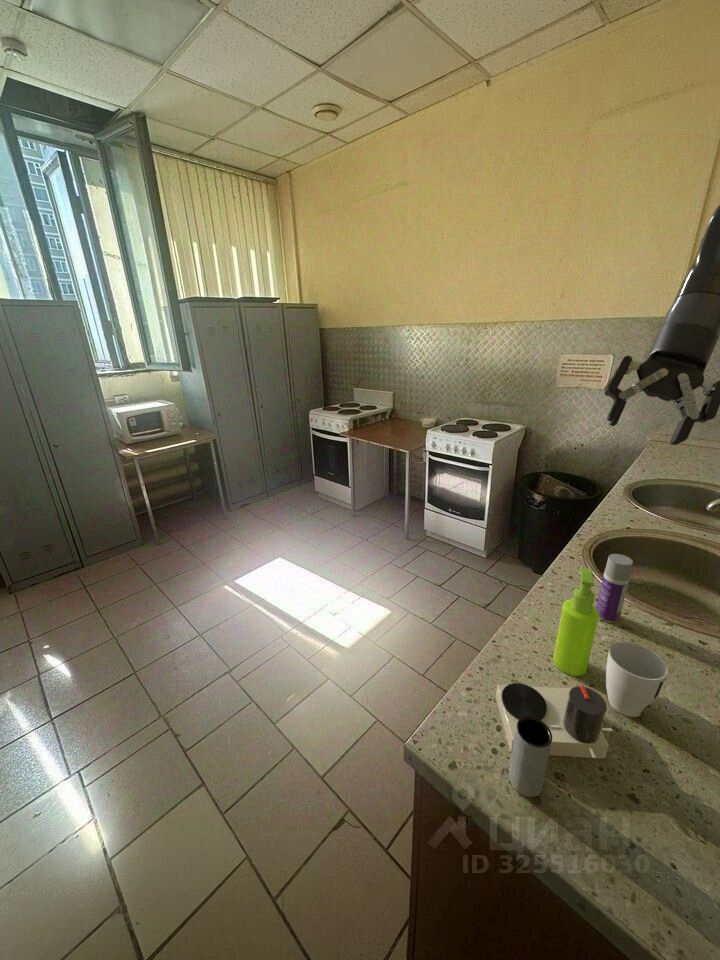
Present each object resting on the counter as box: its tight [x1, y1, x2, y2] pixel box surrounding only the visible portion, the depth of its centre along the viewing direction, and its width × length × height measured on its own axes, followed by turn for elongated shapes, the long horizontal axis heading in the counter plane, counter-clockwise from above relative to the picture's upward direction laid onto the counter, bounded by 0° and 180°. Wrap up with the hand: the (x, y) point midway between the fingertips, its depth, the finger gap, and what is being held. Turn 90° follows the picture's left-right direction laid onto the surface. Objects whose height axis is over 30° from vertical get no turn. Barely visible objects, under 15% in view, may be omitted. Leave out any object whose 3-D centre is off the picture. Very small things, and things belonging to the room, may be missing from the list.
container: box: [595, 553, 634, 624], centre depth 87 cm, size 5×5×15 cm
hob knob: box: [563, 684, 608, 744], centre depth 60 cm, size 5×5×6 cm
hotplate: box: [502, 682, 547, 720], centre depth 66 cm, size 7×7×1 cm
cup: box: [605, 641, 669, 718], centre depth 67 cm, size 8×8×10 cm
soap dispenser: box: [552, 566, 599, 677], centre depth 74 cm, size 6×7×20 cm
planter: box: [508, 716, 552, 798], centre depth 56 cm, size 4×4×10 cm
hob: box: [495, 684, 613, 760], centre depth 64 cm, size 16×12×3 cm
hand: (642, 434), depth 60 cm, fingers open, 8 cm apart
